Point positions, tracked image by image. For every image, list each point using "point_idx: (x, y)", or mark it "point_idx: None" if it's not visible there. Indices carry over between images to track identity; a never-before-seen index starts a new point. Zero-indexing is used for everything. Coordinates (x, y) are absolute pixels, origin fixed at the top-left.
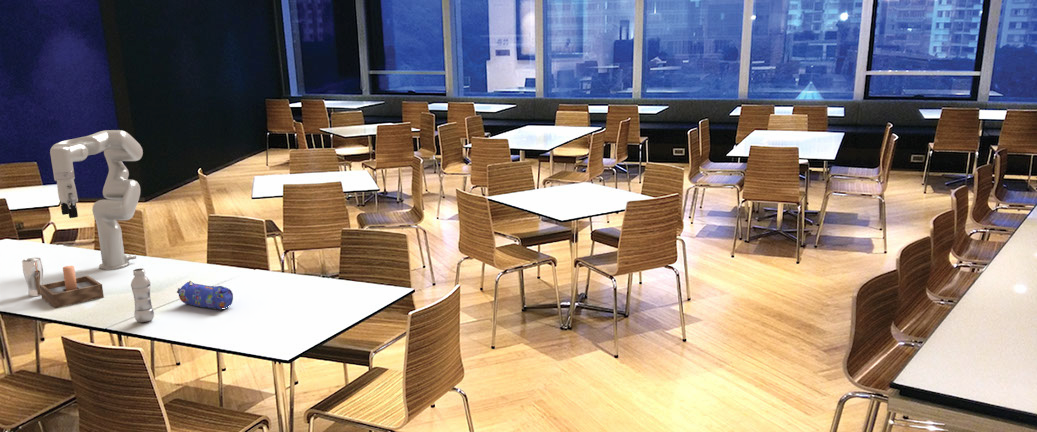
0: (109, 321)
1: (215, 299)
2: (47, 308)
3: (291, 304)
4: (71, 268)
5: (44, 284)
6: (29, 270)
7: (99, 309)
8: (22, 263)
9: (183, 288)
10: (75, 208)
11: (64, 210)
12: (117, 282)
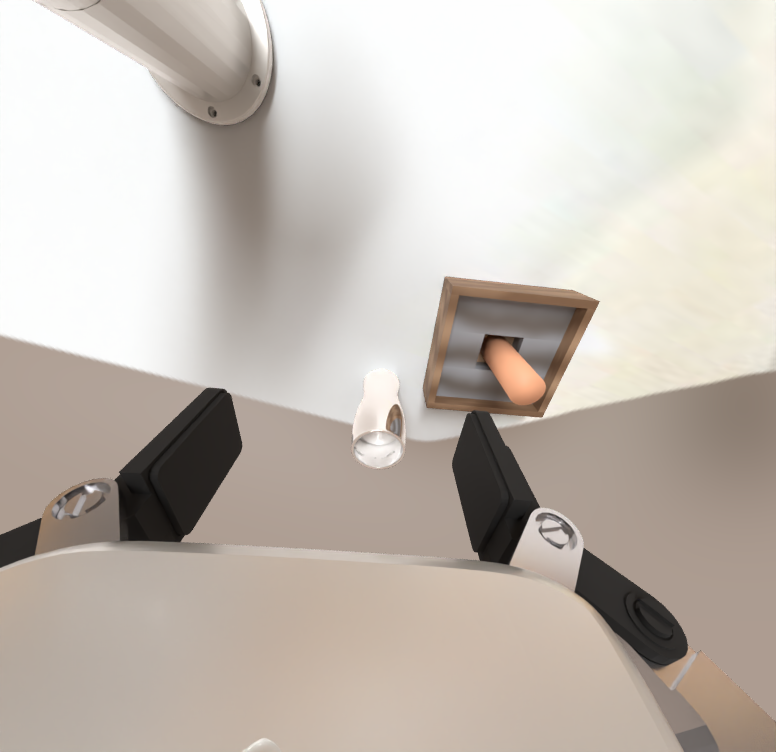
0: (744, 364)
1: None
2: None
3: None
4: (544, 386)
5: (430, 398)
6: (399, 442)
7: (648, 342)
8: (374, 463)
9: None
10: (521, 503)
11: (218, 466)
12: (470, 176)
